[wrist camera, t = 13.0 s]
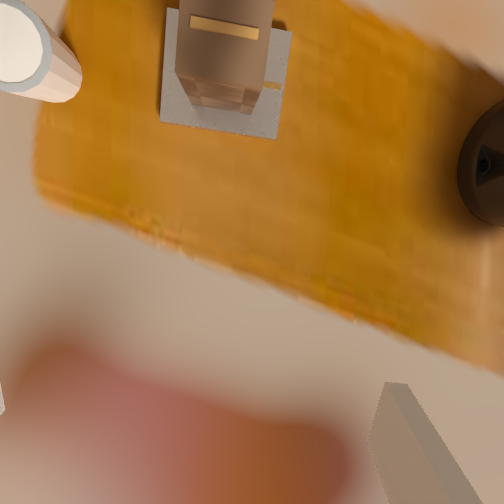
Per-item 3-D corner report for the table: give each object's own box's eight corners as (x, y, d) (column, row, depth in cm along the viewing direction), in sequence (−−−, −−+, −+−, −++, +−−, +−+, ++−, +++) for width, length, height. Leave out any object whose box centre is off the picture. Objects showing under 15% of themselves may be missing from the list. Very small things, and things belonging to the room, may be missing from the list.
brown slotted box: (259, 49, 31) (277, -17, 20) (250, 114, 32) (263, 86, 21) (197, 38, 30) (181, -38, 19) (191, 105, 31) (173, 70, 21)
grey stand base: (289, 38, 32) (304, 5, 26) (274, 140, 34) (285, 133, 28) (169, 14, 31) (155, -26, 24) (162, 123, 33) (147, 111, 27)
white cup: (31, 16, 30) (-26, -29, 23) (100, 59, 31) (65, 28, 24) (4, 84, 31) (-57, 59, 24) (72, 122, 32) (31, 109, 26)
